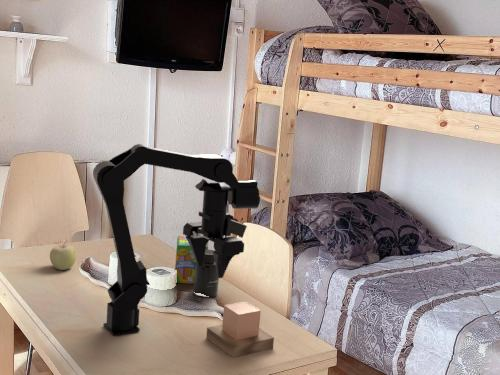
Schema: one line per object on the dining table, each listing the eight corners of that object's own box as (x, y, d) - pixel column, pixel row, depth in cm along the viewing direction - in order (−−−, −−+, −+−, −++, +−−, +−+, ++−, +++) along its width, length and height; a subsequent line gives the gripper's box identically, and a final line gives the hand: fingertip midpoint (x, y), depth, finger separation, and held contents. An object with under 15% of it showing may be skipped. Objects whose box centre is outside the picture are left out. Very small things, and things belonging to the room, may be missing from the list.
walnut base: (232, 357, 139) (233, 346, 139) (206, 337, 148) (207, 327, 147) (272, 347, 145) (273, 337, 145) (245, 329, 154) (246, 319, 154)
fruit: (81, 268, 188) (82, 242, 186) (61, 274, 182) (62, 247, 180) (63, 262, 192) (64, 236, 190) (43, 268, 185) (44, 241, 184)
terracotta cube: (236, 340, 142) (238, 314, 141) (222, 329, 147) (224, 305, 146) (258, 335, 146) (260, 310, 144) (243, 325, 150) (245, 301, 149)
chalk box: (174, 273, 190) (177, 225, 188) (205, 274, 191) (208, 226, 189) (173, 283, 181) (176, 233, 179) (205, 285, 182) (209, 235, 180)
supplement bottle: (214, 299, 172) (217, 257, 169) (189, 296, 173) (192, 253, 171) (220, 291, 178) (223, 250, 176) (196, 287, 180) (199, 246, 177)
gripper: (265, 215, 148) (259, 279, 151) (222, 198, 163) (217, 257, 166) (225, 219, 142) (220, 286, 145) (183, 200, 157) (179, 261, 160)
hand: (210, 271), depth 154 cm, fingers open, 9 cm apart
